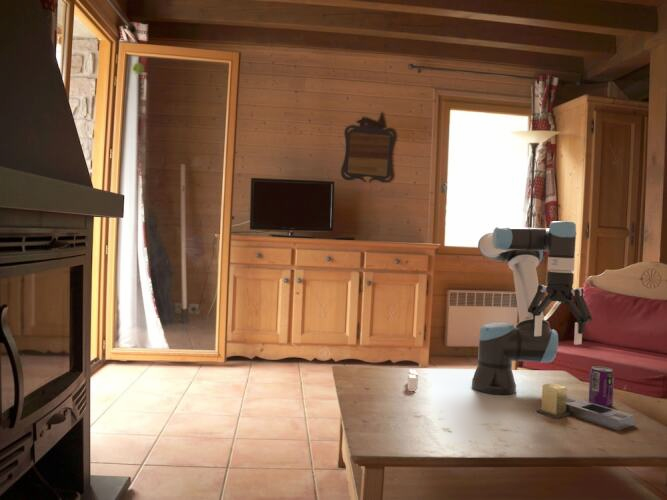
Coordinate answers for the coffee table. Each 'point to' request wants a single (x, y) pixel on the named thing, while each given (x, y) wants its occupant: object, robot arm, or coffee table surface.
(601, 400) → the beverage can
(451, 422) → the coffee table surface
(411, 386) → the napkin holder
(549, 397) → the yellow rectangular block
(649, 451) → the coffee table surface
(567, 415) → the rubber mat
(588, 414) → the rack rail
